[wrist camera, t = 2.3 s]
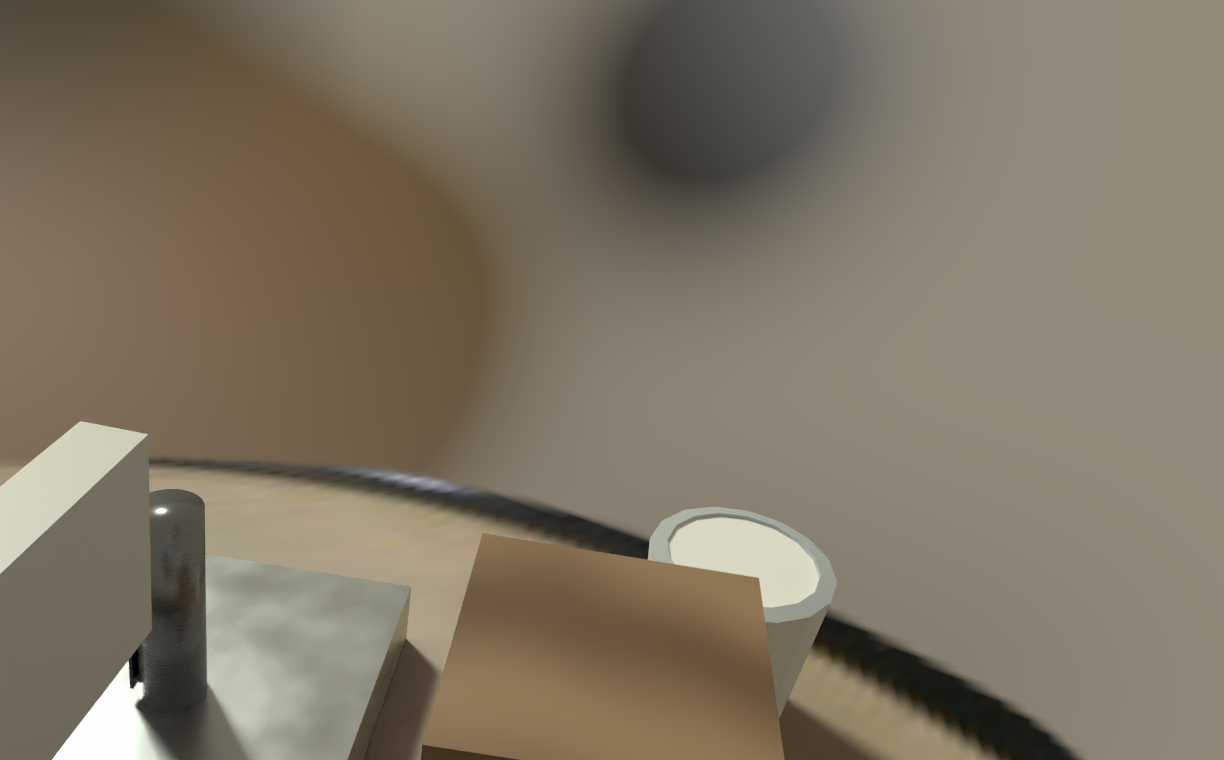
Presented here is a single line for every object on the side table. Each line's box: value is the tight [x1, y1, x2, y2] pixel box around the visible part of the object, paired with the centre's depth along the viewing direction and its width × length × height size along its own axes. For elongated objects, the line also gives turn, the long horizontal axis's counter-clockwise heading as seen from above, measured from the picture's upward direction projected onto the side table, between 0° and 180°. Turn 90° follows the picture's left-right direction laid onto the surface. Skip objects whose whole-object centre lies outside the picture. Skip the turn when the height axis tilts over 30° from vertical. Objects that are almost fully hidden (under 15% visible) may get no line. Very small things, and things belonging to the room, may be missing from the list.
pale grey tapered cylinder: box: [648, 507, 837, 718], centre depth 38 cm, size 7×7×7 cm
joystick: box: [53, 489, 411, 760], centre depth 32 cm, size 14×14×10 cm
